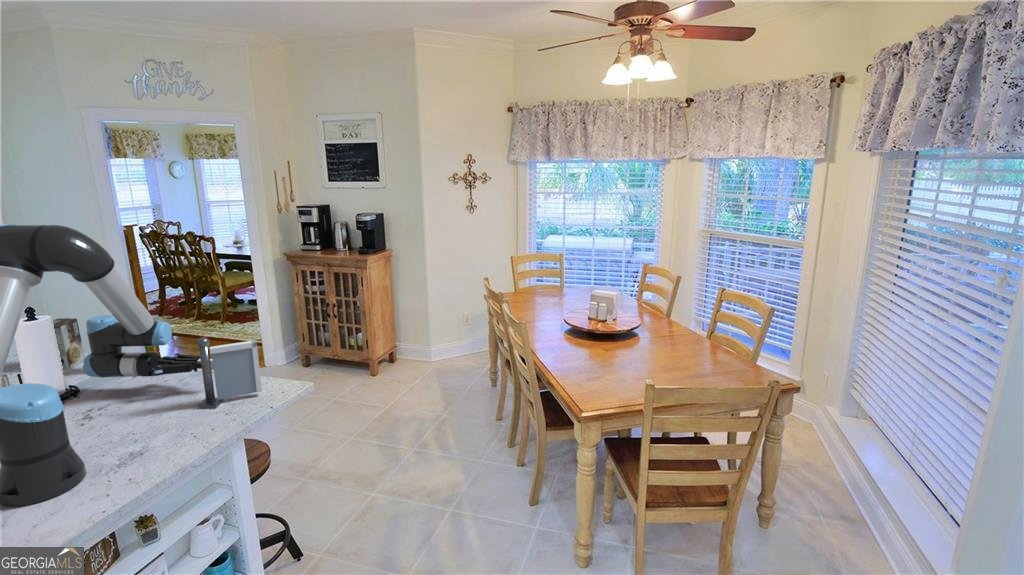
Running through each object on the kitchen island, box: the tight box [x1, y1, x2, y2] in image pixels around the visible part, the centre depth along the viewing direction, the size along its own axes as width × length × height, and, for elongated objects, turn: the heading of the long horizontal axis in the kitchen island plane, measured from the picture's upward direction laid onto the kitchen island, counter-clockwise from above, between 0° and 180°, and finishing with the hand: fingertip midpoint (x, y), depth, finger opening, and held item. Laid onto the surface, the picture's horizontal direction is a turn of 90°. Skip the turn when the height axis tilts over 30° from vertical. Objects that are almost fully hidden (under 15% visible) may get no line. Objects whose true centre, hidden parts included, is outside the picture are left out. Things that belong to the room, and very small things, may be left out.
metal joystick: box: [196, 336, 224, 410], centre depth 153 cm, size 5×5×22 cm
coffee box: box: [52, 317, 86, 371], centre depth 180 cm, size 9×6×16 cm
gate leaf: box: [209, 339, 263, 400], centre depth 157 cm, size 12×2×17 cm, turn 121°
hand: (220, 363), depth 163 cm, fingers closed
